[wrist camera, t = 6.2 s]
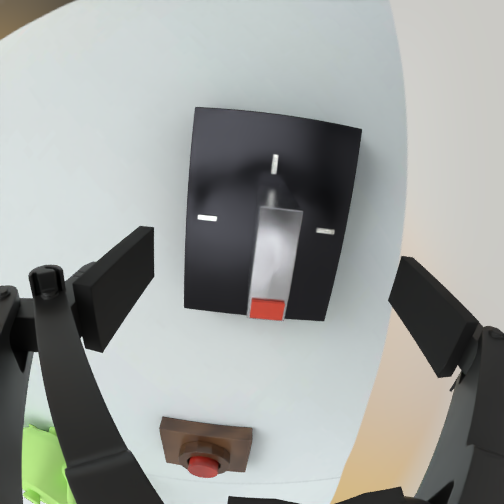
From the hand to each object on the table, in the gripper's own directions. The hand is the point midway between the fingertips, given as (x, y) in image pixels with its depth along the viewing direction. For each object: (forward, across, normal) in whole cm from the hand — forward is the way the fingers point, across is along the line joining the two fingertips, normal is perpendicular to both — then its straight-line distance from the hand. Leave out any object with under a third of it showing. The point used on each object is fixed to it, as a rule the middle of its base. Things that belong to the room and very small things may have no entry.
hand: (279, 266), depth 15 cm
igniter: (+11, -4, -33) cm, 35 cm away
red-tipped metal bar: (+8, 0, 0) cm, 8 cm away
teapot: (+10, -32, -50) cm, 61 cm away
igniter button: (+7, -4, -33) cm, 34 cm away
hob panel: (+11, 0, 0) cm, 11 cm away
